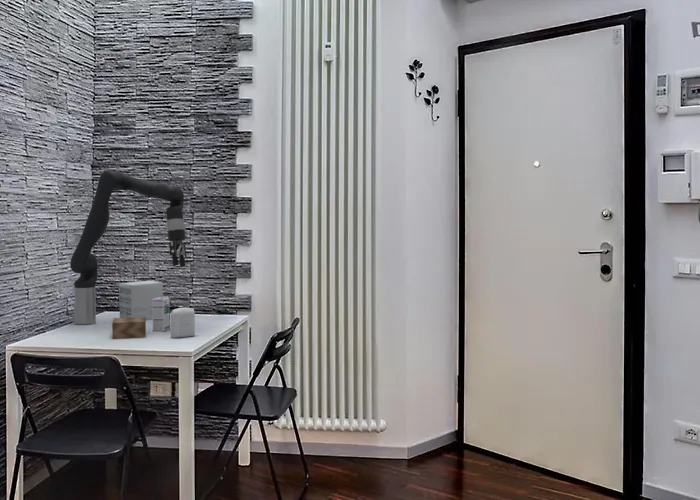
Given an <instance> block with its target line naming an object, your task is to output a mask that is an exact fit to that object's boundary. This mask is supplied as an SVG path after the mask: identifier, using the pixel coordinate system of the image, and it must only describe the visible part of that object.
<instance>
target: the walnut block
mask: <svg viewBox="0 0 700 500" xmlns="http://www.w3.org/2000/svg"><path fill="white" fill-rule="evenodd" d="M111 325H112V326H111V327H112V333H111V335H112V338H111V339H112V340H117V339H123V340H124V339H139V338H140V339H141V338H143V339H144V338H145V339H146V332H147V320H146V317H133V318H120V317H114V318H113V320H112V323H111Z"/></svg>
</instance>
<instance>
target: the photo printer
mask: <svg viewBox="0 0 700 500" xmlns="http://www.w3.org/2000/svg"><path fill="white" fill-rule="evenodd" d="M195 314H196V313H195V310H194V308H192V307H191V308H190V307H178V308H174V309H172V310H170V338H172V339H175V338H177V339H178V338H187V337H188V338H189V337H195V331H196V330H195V323H196V321H195V320H196V319H195V317H196V315H195Z"/></svg>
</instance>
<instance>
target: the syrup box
mask: <svg viewBox="0 0 700 500" xmlns="http://www.w3.org/2000/svg"><path fill="white" fill-rule="evenodd" d="M170 302H171V301H170V297H167V296H163V297H158V298H155V299H152V312H153V319H152V331H154V332H165V331H168V330H171V308H170V307H171V303H170Z"/></svg>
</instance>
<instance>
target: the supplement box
mask: <svg viewBox="0 0 700 500" xmlns="http://www.w3.org/2000/svg"><path fill="white" fill-rule="evenodd" d="M163 283H164V282H161V281H157V280H156V281H155V280H142V281H141V280H140V281H132V282H131V281H130V282H120V283H118V292H119V293H118V297H119V298H118V299H119V301H118V302H119V303H118V304H119V318H133V317H146V321H149V320H153V312H152V299H155V298H158V297H164V285H163Z"/></svg>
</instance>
